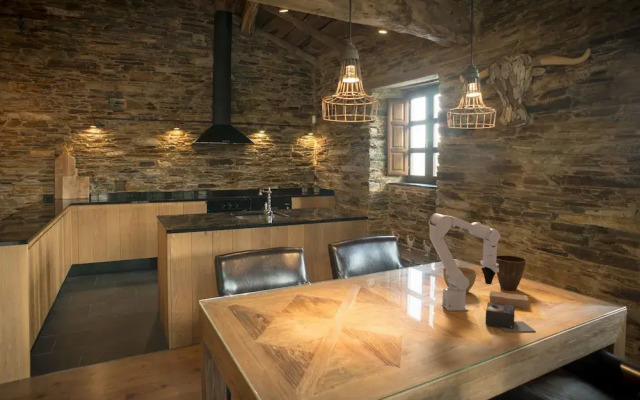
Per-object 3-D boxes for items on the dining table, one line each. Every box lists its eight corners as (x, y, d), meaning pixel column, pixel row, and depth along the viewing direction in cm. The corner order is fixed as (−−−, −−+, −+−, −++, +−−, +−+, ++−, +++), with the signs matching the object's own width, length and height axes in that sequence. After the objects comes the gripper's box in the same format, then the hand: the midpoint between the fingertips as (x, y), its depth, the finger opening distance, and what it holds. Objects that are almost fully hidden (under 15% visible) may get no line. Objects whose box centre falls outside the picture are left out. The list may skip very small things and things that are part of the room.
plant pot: (496, 282, 227) (498, 253, 225) (526, 287, 218) (528, 257, 217) (489, 289, 215) (491, 259, 213) (521, 295, 206) (523, 263, 204)
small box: (514, 305, 172) (515, 314, 162) (514, 320, 173) (514, 330, 163) (487, 301, 176) (486, 309, 167) (486, 316, 177) (485, 325, 167)
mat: (505, 332, 161) (505, 331, 161) (494, 322, 171) (494, 321, 171) (535, 332, 162) (535, 330, 162) (522, 322, 171) (522, 321, 171)
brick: (527, 303, 194) (527, 294, 194) (529, 309, 187) (529, 299, 186) (489, 299, 200) (489, 290, 200) (489, 305, 192) (490, 295, 192)
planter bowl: (478, 290, 214) (479, 269, 212) (471, 298, 200) (472, 276, 199) (447, 284, 222) (448, 264, 221) (438, 292, 209) (439, 271, 207)
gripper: (506, 258, 181) (504, 288, 182) (491, 250, 195) (489, 278, 197) (490, 258, 181) (489, 288, 182) (476, 250, 195) (475, 279, 196)
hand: (488, 283), depth 189 cm, fingers closed
